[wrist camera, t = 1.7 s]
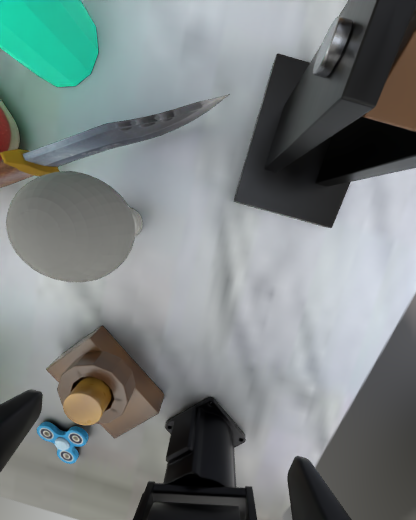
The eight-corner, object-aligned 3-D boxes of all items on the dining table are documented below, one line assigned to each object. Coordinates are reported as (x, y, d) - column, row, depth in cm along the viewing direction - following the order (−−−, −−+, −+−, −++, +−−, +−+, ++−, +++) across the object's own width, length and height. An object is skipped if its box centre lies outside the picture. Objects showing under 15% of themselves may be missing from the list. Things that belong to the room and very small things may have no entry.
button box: (172, 389, 23) (162, 427, 19) (123, 418, 24) (105, 459, 20) (110, 319, 21) (85, 344, 17) (61, 354, 22) (28, 384, 19)
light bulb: (84, 227, 19) (-56, 245, 9) (120, 171, 18) (1, 125, 8) (138, 268, 20) (59, 324, 10) (177, 216, 18) (128, 223, 9)
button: (119, 396, 19) (109, 414, 17) (94, 412, 19) (81, 431, 18) (95, 370, 18) (82, 386, 17) (69, 387, 19) (54, 405, 17)
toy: (90, 470, 25) (96, 460, 25) (81, 434, 23) (88, 425, 24) (43, 462, 25) (50, 452, 26) (32, 426, 24) (40, 418, 25)
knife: (226, 100, 16) (228, 54, 11) (231, 120, 17) (235, 83, 12) (-39, 198, 19) (-126, 194, 14) (-31, 213, 20) (-114, 214, 15)
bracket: (273, 64, 16) (419, -339, 4) (377, 94, 16) (807, -221, 4) (233, 201, 18) (256, 187, 6) (324, 227, 18) (507, 257, 7)
